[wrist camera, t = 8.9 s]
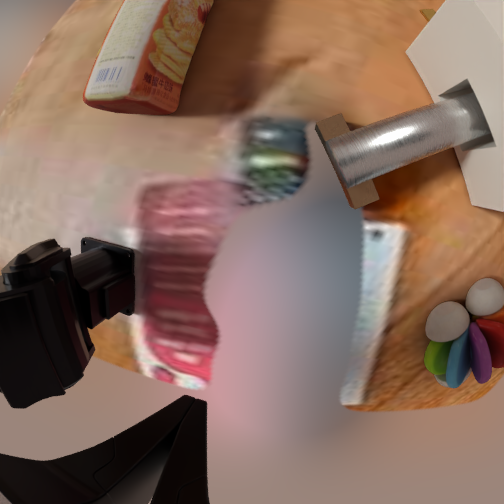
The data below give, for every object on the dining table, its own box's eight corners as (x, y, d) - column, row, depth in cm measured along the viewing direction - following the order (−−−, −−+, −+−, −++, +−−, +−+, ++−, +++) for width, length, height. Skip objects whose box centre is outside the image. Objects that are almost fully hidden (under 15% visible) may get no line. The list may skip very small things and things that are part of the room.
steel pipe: (378, 298, 19) (399, 334, 14) (265, 49, 16) (252, 12, 11) (533, 215, 14) (569, 226, 9) (447, 9, 11) (469, -17, 6)
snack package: (190, -46, 14) (166, -80, 7) (250, -50, 13) (234, -91, 7) (120, 117, 20) (66, 104, 13) (184, 122, 19) (136, 103, 13)
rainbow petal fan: (497, 334, 18) (532, 372, 11) (422, 379, 21) (445, 430, 14) (492, 262, 17) (541, 291, 10) (408, 311, 19) (441, 362, 12)
